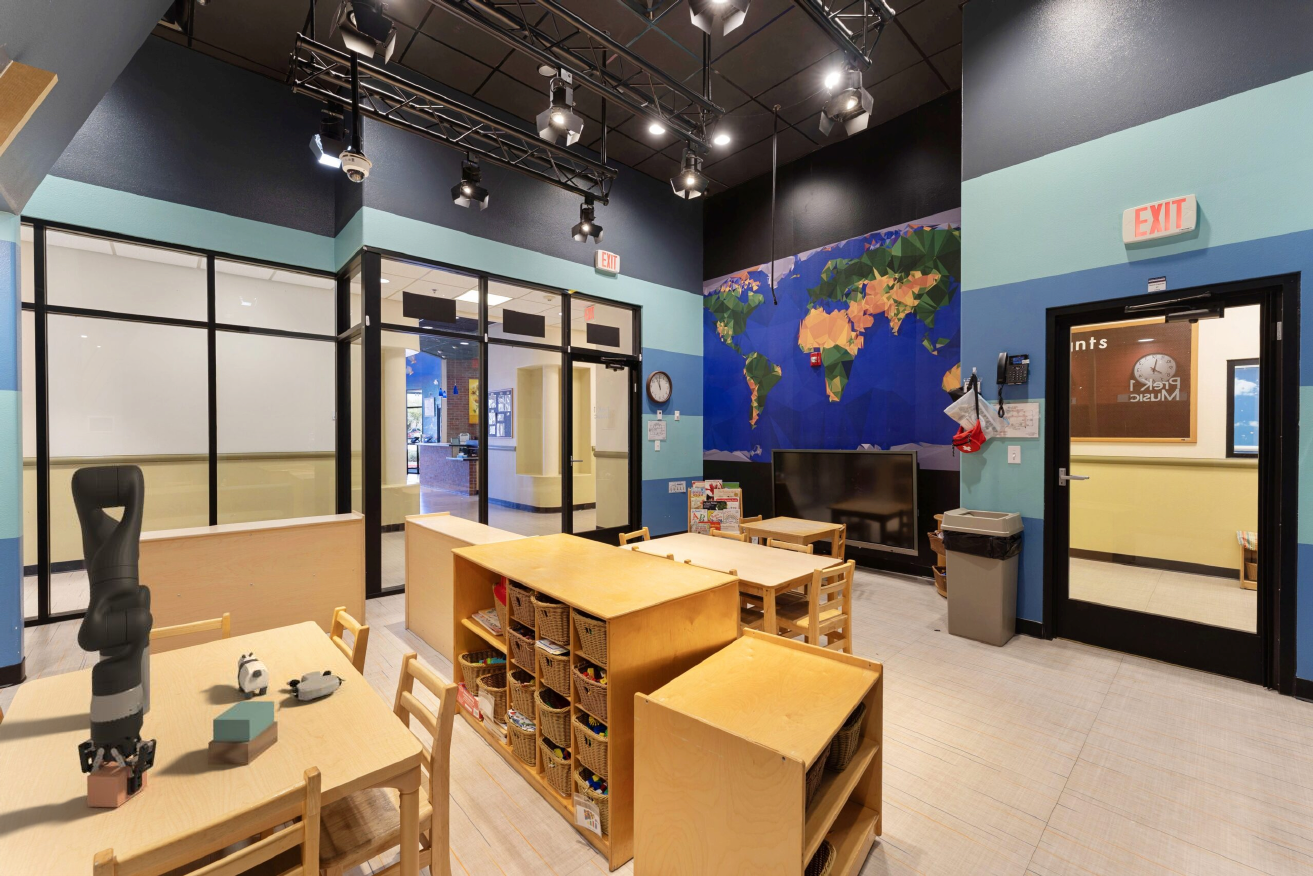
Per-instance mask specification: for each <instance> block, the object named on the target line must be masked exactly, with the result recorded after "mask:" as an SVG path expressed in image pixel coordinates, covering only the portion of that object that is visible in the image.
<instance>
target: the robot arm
mask: <svg viewBox="0 0 1313 876" xmlns="http://www.w3.org/2000/svg"><path fill="white" fill-rule="evenodd" d="M144 477H145V476H144V473H143V470H142V468H141V467H140V466H138V465H136V464H121V465H120V464H119V465H98V466H87V467H82V468H79V469H77V470H75V471H74V473H73V474H72V477H71V481H70V483H71V484H70V485H71V487H70V489H71V494H72V499H73V503H74V506H75V510H76V513H77V516H78V517H77V518H78V521H79V524H80V530H81V531H80V532H81V541H82V552H83V553H82V554H83V560H84V563H85V565H84V566H85V568H86V573H87V578H88V583H89V584H88V585H89V601H88V602H89V603H88V606H87V609H86V612H85V615H84V617H83V620H82V622H81V624H80V627H79V630H78V632H77V633H78V634H77V644H78V645H79V647H80V649H81V650H83V651H85V652H90V653H93V652H99V661H98V662H97V663H95V665H93V667H92V671H91V700H90V703H89V704H90V707H89V711H90V712H89V716H90V718H89V719H90V721H89V723H90V727H89V729H90V730H89V732H90V734H89V735H90V738H88V739H87V740H85V741H83V742H81V743H79V744H78V746H77V748H78V749H77V750H78V755H79V756H78V757H79V763H80V769H81V773H83V774H87V773H89V775H90V774H92V773H93V772H95V771H97V770H100V769H101V768H102V767H103V766H105V765H107V764H110V763H111V762H112V761H113V762H117V763H118V764H119V766H120V768H121V769H124V770H125V771H126V774H127V776H128V778H127V795H133V794H134V793H136V792H137V791H139V790H140V788H141V787H142V773H144V772H145V771H146V770H147V771H148V770H150V769H151V768H152V767H154V762H155V757H156V756H155V755H156V749H157V743H158V742H157V739H156V738H153V739H151V740H150V739H149V740H143V738H142V736H141V734H140V731H141V729H142V728H143V725H144V715H146V714H147V713H148V712H149V711H150V710H151V665H150V664H151V658H150V657H151V653H150V651H151V650H150V648H151V646H150V633H151V631H152V628H153V624H154V617H153V615H152V613H151V600H152V598H151V596H152V595H151V590H150V588H149V586H148V585H146V584H140V576H139V575H140V573H139V572H140V571H139V560H140V541H141V540H140V539H141V533H142V526H143V519H144V518H143V516H144V508H145V507H144V504H145V488H146V487H145V478H144ZM112 508H124V509H123V510H124V511H123V514H122V517H121V519H120V521H119V520H118V519H115V518H114V517H112V516H110V515H109V514H107V513H106V512H105V511H104V510H103V509H112ZM128 758H132V759H130V760H129V761H127V760H126V759H128ZM90 759H91V760H90ZM90 761H91V762H90ZM132 763H134V764H135V765H136V768H134V769H133V767H132ZM145 763H146V764H145Z"/></svg>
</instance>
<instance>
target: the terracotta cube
mask: <svg viewBox="0 0 1313 876" xmlns="http://www.w3.org/2000/svg"><path fill="white" fill-rule="evenodd" d="M132 758H133V757H129V758H128V759H126V760H127V761H129V760H130V759H132ZM145 764H146V763H145ZM132 767H133V769H134V768H136V765H135V764H134V763H132ZM127 778H128V776H127V774H126V771H125V770H124V769H121V768H120V766H119V764H118V763H117V762H113V761H112V762H111V763H110V764H107V765H105V766H103V767H102V768H101V769H100V770H97V771H95V772H93V773H92V774H90V773H89V775H87V776H86V779H87V780H86V781H87V783H86V786H87V787H86V789H87V807H96V808H98V807H101V808H118V807H120V806H122V805H123V804H124V803H126V802H127V801H129V800H130V799H132V798H133V797H134V796H135V795H138V794H139V793H140V792H141V791H143V790H144V789H146V788H147V787H148V770H146V771H145V772H144V773H142V787H141V788H140V790H139V791H137V792H136V793H134V794H133V795H127Z"/></svg>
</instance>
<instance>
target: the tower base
mask: <svg viewBox="0 0 1313 876" xmlns="http://www.w3.org/2000/svg"><path fill="white" fill-rule="evenodd" d="M278 733H279V732H278V721H276V720H274V723H272V724H271V725H270V726H269V727H267V728H266V729H265V730H264V731H262V732H261V733H260V734H259V735H257V736H256V737H255V738H254V739H252V740H251V741H250V742H213V739H211V740H210V741H208V749H207V750H208V765H236V766H237V765H241V766H242V765H243V766H246V765H247V766H249V765H250V764H251V763H252V762H254V761H255V760H256V759H257V758H259V756H261V755H262V754H264V753H265V752H266V751H267V750H269V749H270V748H271V747H273V746H274V745H275V744H276V743H277V742H278Z"/></svg>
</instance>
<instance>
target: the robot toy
mask: <svg viewBox="0 0 1313 876" xmlns="http://www.w3.org/2000/svg"><path fill="white" fill-rule="evenodd" d="M332 673H333V671H332V670H325V671H324V672H323V673H322V672H321V671H312V672H308V673H306V674H303V675H302V676H301V678H300V679H296V678H295V679H291V680H290V681H287V682H286V685H287V686H289V687H290V688H293V690H292V692H291V696H292V697H294V698H295V699H298V700H300V701H304V702H306V701H311V700H313V699H314V698H319V697H323V696H329V695H331V694H332V693H334V692H335V691H337V690H338V689H340V686H342V682H346V681H347V680H346V679H343V678H340V677H339V676H338V675H336V674H332Z"/></svg>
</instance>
